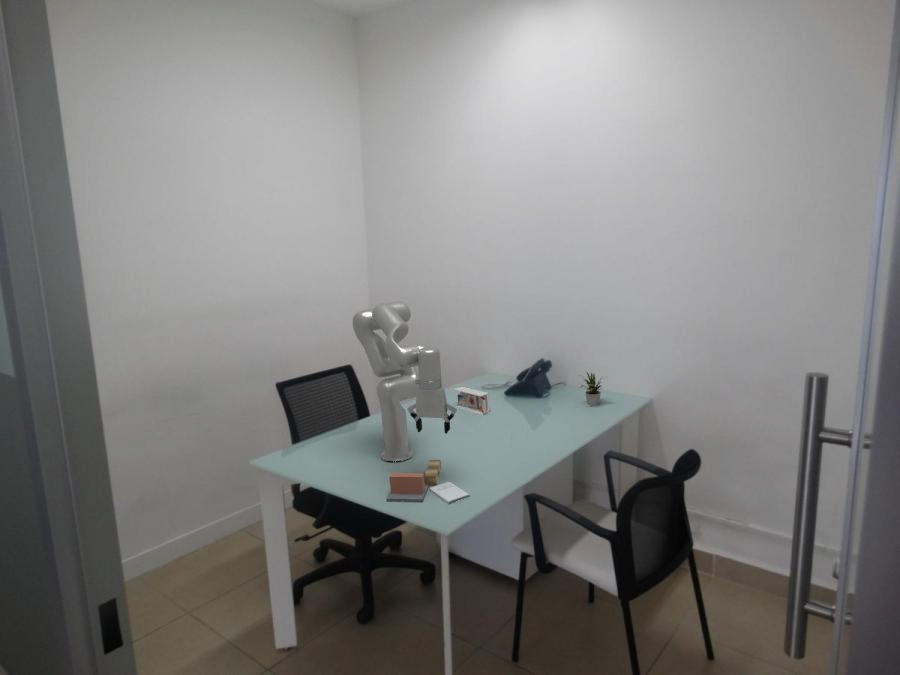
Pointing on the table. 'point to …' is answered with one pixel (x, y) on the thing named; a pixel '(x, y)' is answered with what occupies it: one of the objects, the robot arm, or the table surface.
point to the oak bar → (432, 472)
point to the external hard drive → (449, 492)
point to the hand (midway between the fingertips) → (433, 431)
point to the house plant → (592, 391)
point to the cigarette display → (473, 400)
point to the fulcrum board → (408, 496)
